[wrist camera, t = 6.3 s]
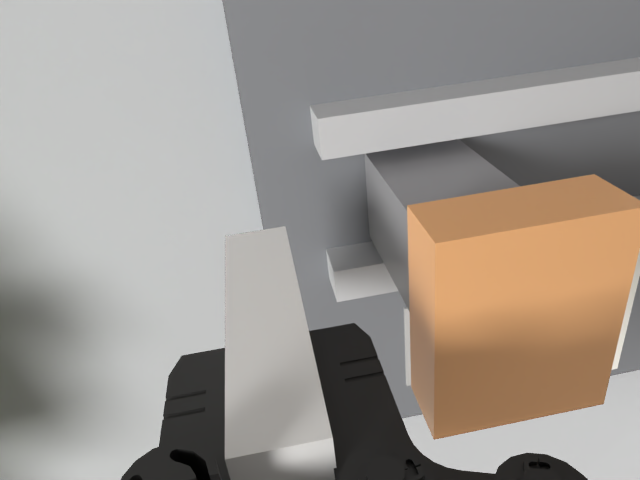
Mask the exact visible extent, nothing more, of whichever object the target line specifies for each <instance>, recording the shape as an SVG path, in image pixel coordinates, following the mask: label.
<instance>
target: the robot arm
mask: <svg viewBox="0 0 640 480" xmlns="http://www.w3.org/2000/svg"><path fill="white" fill-rule="evenodd" d="M163 416H164V420H163V421H162V428H161V436H160V443H159V447H157V448H154V449H152V450H151V451H149V452H148V453H146V454H145V455H143V456H142V457H141V458H139V459H138V460H136V461H135V462H134V463H133V465H132V466H131V467H130V468H129V469H128V471H127V472H126V473H125V474H124V475H123V476H122V478H121V480H588V479H587V478H586V477H585V476H584V475H582V474H581V473H580V472H578V471H577V470H576V469H574V468H573V467H572V466H570V465H569V464H568V463H566V462H564V461H561V460H559V459H556V458H554V457H551V456H549V455H545V454H534V453H525V454H521V455H517V456H513V457H510V458H509V459H508V460H506V461H505V462H504V463H503V464H501V465H500V466H499V467H498V469H497V472H496V474H490V473H480V472H470V471H461V470H456V469H451V468H447V467H444V466H442V465H439V464H437V463H435V462H433V461H431V460H430V459H429V458H427V457H426V456H424V455H423V454H422V453H421V452H420V451H419V450H418V449H417V448H416V447H415V446H414V445H413V443H412V441H411V439H410V437H409V435H408V433H407V431H406V428H405V425H404V423H403V420H402V418H401V415H400V412H399V410H398V407H397V405H396V402H395V399H394V397H393V394H392V392H391V389H390V386H389V384H388V381H387V379H386V376H385V375H384V371H383V368H382V366H381V363H380V360H378V355H377V353H376V350H375V347H374V345H373V342H372V340H371V337H370V336H369V335H368V334H367V333H365V332H364V331H363V330H362V329H361V328H360V327H359V326H358V325H356V324H355V323H351V324H345V325H340V326H334V327H329V328H323V329H317V330H312V331H309V330H308V325H307V321H306V316H305V312H304V307H303V303H302V298H301V294H300V289H299V285H298V280H297V276H296V272H295V267H294V263H293V258H292V254H291V249H290V245H289V240H288V236H287V231H286V227H285V226H283V227H277V228H271V229H265V230H259V231H252V232H246V233H240V234H234V235H228V236H225V348H222V349H216V350H211V351H205V352H200V353H194V354H189V355H183V356H181V358H180V359H179V361H178V362H177V364H176V365H175V367H174V369H173V370H172V372H171V373H170V375H169V378H168V385H167V392H166V401H165V407H164V414H163Z"/></svg>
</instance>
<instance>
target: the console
mask: <svg viewBox="0 0 640 480" xmlns="http://www.w3.org/2000/svg"><path fill="white" fill-rule="evenodd" d="M222 1H223V6H224V12H225V18H226V23H227V29H228V34H229V40H230V46H231V51H232V57H233V62H234V68H235V73H236V79H237V85H238V90H239V96H240V101H241V107H242V113H243V118H244V124H245V129H246V135H247V141H248V146H249V152H250V157H251V163H252V168H253V174H254V180H255V185H256V191H257V196H258V202H259V208H260V213H261V219H262V224H263V230H265V229H271V228H277V227H283V226H285V227H286V231H287V236H288V240H289V245H290V249H291V254H292V258H293V263H294V267H295V272H296V276H297V280H298V285H299V289H300V294H301V298H302V303H303V307H304V312H305V316H306V321H307V325H308V330H309V331H312V330H317V329H323V328H329V327H334V326H340V325H345V324H351V323H355V324H356V325H358V326H359V327H360V328H361V329H362V330H363V331H364V332H365V333H367V334H368V335H369V336H370V337H371V340H372V342H373V345H374V347H375V350H376V353H377V355H378V360H380V363H381V366H382V368H383V371H384V375H385V376H386V379H387V381H388V384H389V386H390V389H391V392H392V394H393V397H394V399H395V402H396V405H397V407H398V410H399V412H400V415H401V418H406V417H411V416H416V415H421V414H423V413H422V411H421V409H420V406H419V404H418V402H417V399H416V397H415V395H414V393H413V390H412V388H411V356H410V312H409V310H408V308H407V306H406V304H405V303H404V301H403V299H402V297H401V295H400V293H399V291H398V289H397V287H396V285H395V283H394V282H393V280H392V278H391V276H390V274H389V272H388V270H387V268H386V266H385V264H384V262H383V260H382V259H381V257H380V255H379V253H378V251H377V249H376V247H375V245H374V243H373V241H372V239H371V238H370V233H369V217H368V202H367V186H366V171H365V155H364V154H366V153H372V152H379V151H385V150H391V149H398V148H404V147H411V146H417V145H423V144H430V143H436V142H443V141H449V140H455V139H459V140H460V141H462V142H463V143H464V144H466V145H467V146H468V147H470V148H471V149H472V150H473V151H475V152H476V153H477V154H479V155H480V156H481V157H483V158H484V159H485V160H486V161H488V162H489V163H490V164H492V165H493V166H494V167H496V168H497V169H498V170H500V171H501V172H502V173H503V174H505V175H506V176H507V177H509V178H510V179H511V180H513V181H514V182H515V183H517V184H518V185H519V186H526V185H532V184H538V183H544V182H550V181H556V180H562V179H568V178H574V177H580V176H586V175H592V174H595V175H597V176H599V177H600V178H602V179H604V180H605V181H607V182H609V183H611V184H612V185H614V186H616V187H618V188H619V189H621V190H623V191H624V192H626V193H628V194H630V195H631V196H633V197H635V198H637V199H638V200H640V0H222ZM636 370H640V250H639V254H638V259H637V263H636V267H635V271H634V276H633V280H632V284H631V288H630V293H629V297H628V301H627V306H626V310H625V314H624V318H623V323H622V327H621V331H620V336H619V340H618V344H617V348H616V353H615V357H614V361H613V365H612V370H611V374H610V376H612V375H616V374H621V373H626V372H631V371H636Z"/></svg>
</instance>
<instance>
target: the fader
mask: <svg viewBox="0 0 640 480" xmlns="http://www.w3.org/2000/svg"><path fill="white" fill-rule="evenodd" d="M364 155H365V171H366V186H367V202H368V217H369V233H370V238H371V239H372V241H373V243H374V245H375V247H376V249H377V251H378V253H379V255H380V257H381V259H382V260H383V262H384V264H385V266H386V268H387V270H388V272H389V274H390V276H391V278H392V280H393V282H394V283H395V285H396V287H397V289H398V291H399V293H400V295H401V297H402V299H403V301H404V303H405V304H406V306H407V308H408V310H409V312H410V356H411V388H412V390H413V393H414V395H415V397H416V399H417V402H418V404H419V406H420V409H421V411H422V413H423V416H424V418H425V420H426V422H427V425H428V427H429V429H430V432H431V434H432V436H433V439H439V438H444V437H449V436H453V435H458V434H463V433H468V432H472V431H477V430H482V429H487V428H491V427H496V426H501V425H506V424H511V423H515V422H520V421H525V420H530V419H534V418H539V417H544V416H549V415H554V414H558V413H563V412H568V411H573V410H577V409H582V408H587V407H592V406H596V405H601V404H604V400H605V395H606V391H607V387H608V383H609V378H610V374H611V370H612V365H613V361H614V357H615V353H616V348H617V344H618V340H619V336H620V331H621V327H622V323H623V318H624V314H625V310H626V306H627V301H628V297H629V293H630V288H631V284H632V280H633V276H634V271H635V267H636V263H637V259H638V254H639V250H640V200H638V199H637V198H635V197H633V196H631V195H630V194H628V193H626V192H624V191H623V190H621V189H619V188H618V187H616V186H614V185H612V184H611V183H609V182H607V181H605V180H604V179H602V178H600V177H599V176H597V175H595V174H592V175H586V176H580V177H574V178H568V179H562V180H556V181H550V182H544V183H538V184H532V185H526V186H519V185H518V184H517V183H515V182H514V181H513V180H511V179H510V178H509V177H507V176H506V175H505V174H503V173H502V172H501V171H500V170H498V169H497V168H496V167H494V166H493V165H492V164H490V163H489V162H488V161H486V160H485V159H484V158H483V157H481V156H480V155H479V154H477V153H476V152H475V151H473V150H472V149H471V148H470V147H468V146H467V145H466V144H464V143H463V142H462V141H460V140H459V139H455V140H449V141H443V142H436V143H430V144H423V145H417V146H411V147H404V148H398V149H391V150H385V151H379V152H372V153H366V154H364Z"/></svg>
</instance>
